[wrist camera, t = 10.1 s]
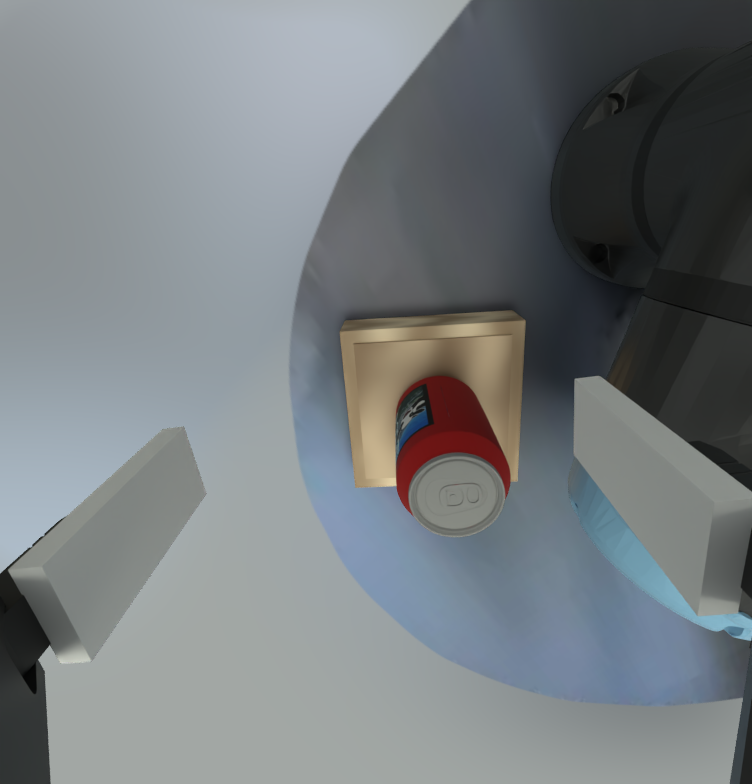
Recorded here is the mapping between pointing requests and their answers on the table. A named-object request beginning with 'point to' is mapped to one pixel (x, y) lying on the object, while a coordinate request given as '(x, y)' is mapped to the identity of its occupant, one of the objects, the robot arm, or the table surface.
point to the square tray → (426, 359)
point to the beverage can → (448, 458)
